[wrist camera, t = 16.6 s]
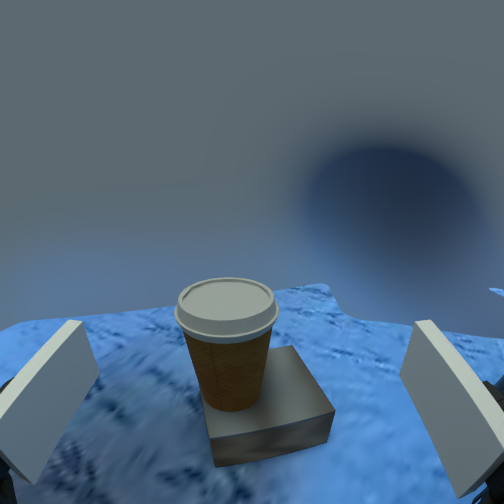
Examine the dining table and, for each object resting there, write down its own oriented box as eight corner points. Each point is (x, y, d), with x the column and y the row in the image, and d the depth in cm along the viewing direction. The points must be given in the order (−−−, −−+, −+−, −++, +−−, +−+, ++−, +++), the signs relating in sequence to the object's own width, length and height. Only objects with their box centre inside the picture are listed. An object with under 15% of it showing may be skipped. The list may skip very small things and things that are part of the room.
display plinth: (289, 377, 41) (292, 345, 39) (326, 442, 29) (335, 410, 27) (200, 392, 38) (195, 359, 36) (215, 467, 26) (209, 438, 24)
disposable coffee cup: (230, 356, 37) (226, 268, 33) (292, 388, 31) (300, 293, 27) (171, 391, 30) (152, 296, 26) (232, 438, 24) (225, 338, 20)
